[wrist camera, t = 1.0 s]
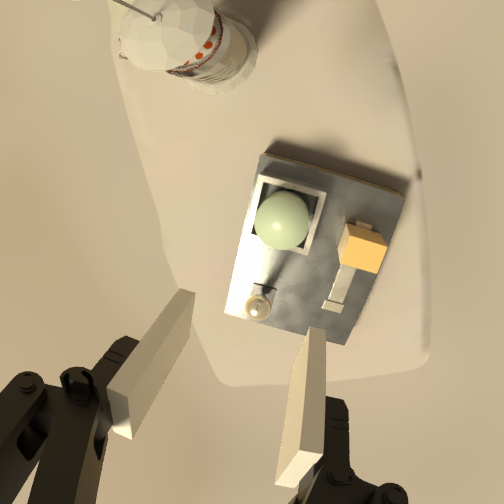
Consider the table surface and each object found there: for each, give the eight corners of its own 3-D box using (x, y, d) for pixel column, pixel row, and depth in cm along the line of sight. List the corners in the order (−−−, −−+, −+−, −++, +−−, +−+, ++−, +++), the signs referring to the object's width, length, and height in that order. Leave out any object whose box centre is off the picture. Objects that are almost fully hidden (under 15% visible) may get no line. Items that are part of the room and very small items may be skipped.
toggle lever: (254, 284, 38) (247, 292, 29) (274, 290, 38) (274, 299, 29) (249, 304, 38) (240, 317, 29) (268, 310, 38) (266, 325, 29)
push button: (265, 184, 32) (261, 191, 29) (315, 198, 31) (315, 206, 28) (254, 231, 34) (249, 241, 31) (301, 244, 33) (300, 256, 30)
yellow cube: (346, 222, 33) (349, 235, 30) (380, 233, 33) (387, 247, 30) (337, 248, 35) (339, 263, 31) (371, 257, 34) (376, 273, 31)
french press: (259, 91, 33) (155, 39, 10) (163, 100, 35) (-12, 100, 12) (256, 13, 29) (166, -117, 6) (161, 26, 31) (4, -34, 8)
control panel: (264, 152, 35) (256, 157, 30) (398, 192, 34) (411, 203, 29) (230, 300, 44) (219, 323, 39) (343, 331, 42) (345, 357, 37)
